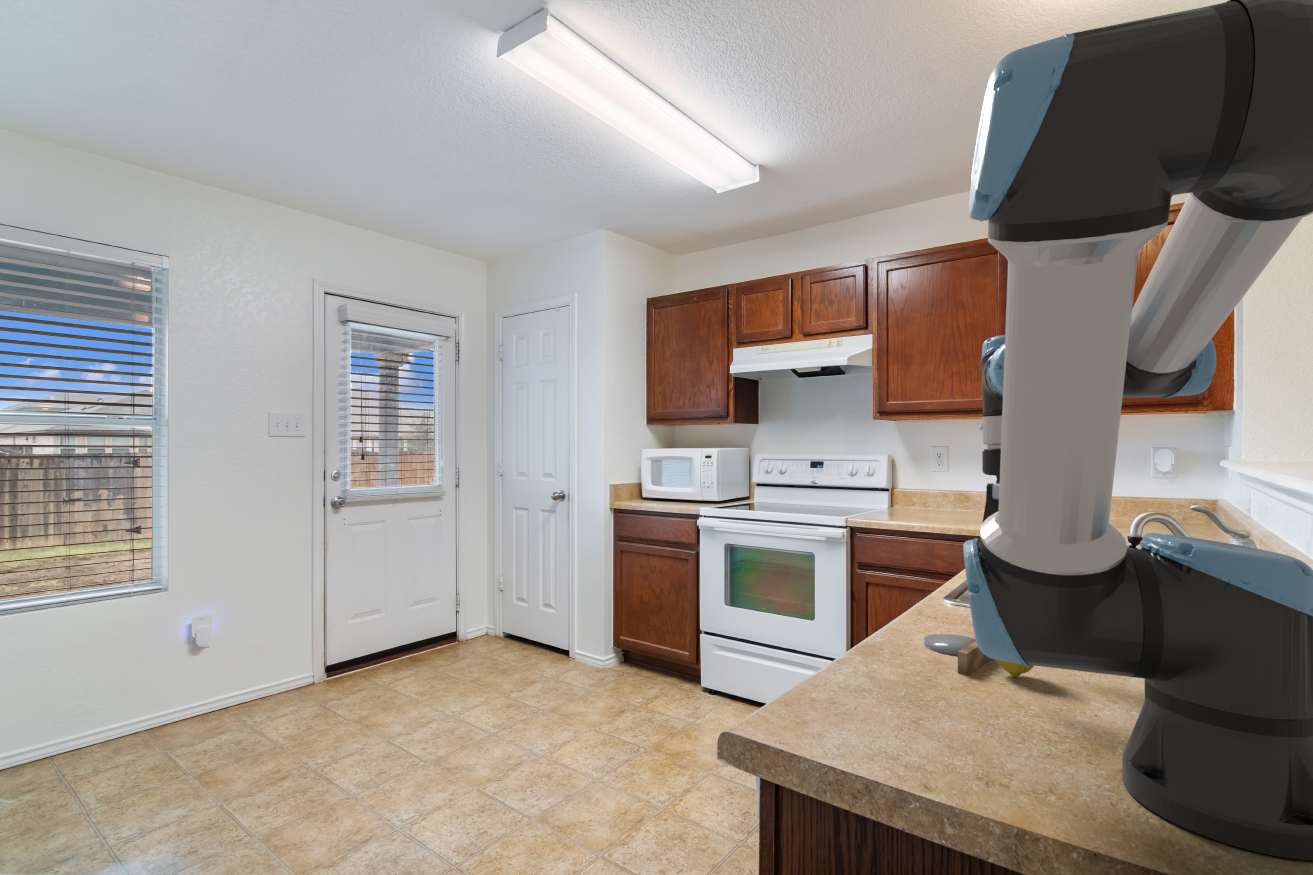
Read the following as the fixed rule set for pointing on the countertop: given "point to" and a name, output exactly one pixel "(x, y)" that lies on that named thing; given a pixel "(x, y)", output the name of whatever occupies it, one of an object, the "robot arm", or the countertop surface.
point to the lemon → (1013, 668)
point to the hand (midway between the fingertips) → (1013, 599)
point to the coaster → (947, 643)
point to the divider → (970, 659)
